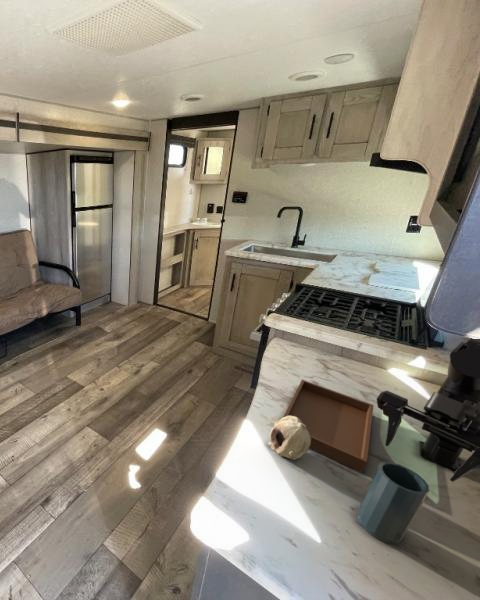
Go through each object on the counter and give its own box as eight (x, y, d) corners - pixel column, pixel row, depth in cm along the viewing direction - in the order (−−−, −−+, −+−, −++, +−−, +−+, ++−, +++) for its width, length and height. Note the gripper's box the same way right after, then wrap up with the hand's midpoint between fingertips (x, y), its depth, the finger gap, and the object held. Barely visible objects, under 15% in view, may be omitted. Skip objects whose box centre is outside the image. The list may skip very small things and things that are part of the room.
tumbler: (357, 503, 67) (379, 456, 62) (400, 525, 63) (427, 476, 58) (354, 526, 62) (378, 477, 58) (401, 552, 58) (430, 501, 54)
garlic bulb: (273, 444, 85) (279, 407, 84) (312, 459, 78) (318, 419, 78) (261, 453, 78) (267, 413, 78) (302, 470, 72) (309, 427, 72)
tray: (299, 388, 104) (301, 379, 103) (369, 414, 93) (373, 404, 92) (277, 433, 85) (280, 423, 84) (362, 472, 74) (367, 462, 73)
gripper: (397, 356, 65) (354, 418, 64) (552, 411, 50) (500, 493, 49) (398, 378, 72) (359, 434, 70) (535, 432, 57) (489, 505, 55)
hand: (417, 462), depth 61 cm, fingers open, 9 cm apart
